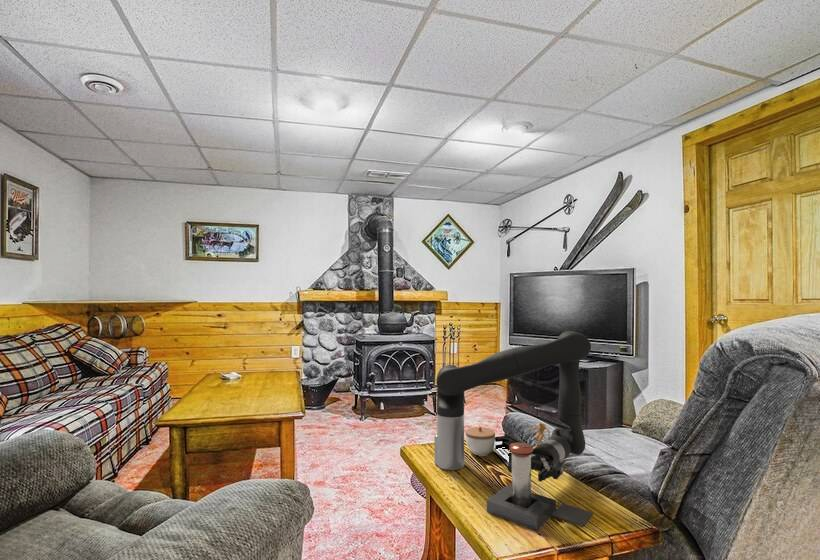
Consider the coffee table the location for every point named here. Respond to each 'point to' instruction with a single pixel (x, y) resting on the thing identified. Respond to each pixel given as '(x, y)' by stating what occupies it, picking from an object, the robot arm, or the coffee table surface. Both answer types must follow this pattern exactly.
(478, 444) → the lidded jar
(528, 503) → the capped metal cylinder
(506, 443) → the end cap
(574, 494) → the coffee table surface
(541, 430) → the figurine
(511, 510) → the bore housing
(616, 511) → the coffee table surface
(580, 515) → the mat
